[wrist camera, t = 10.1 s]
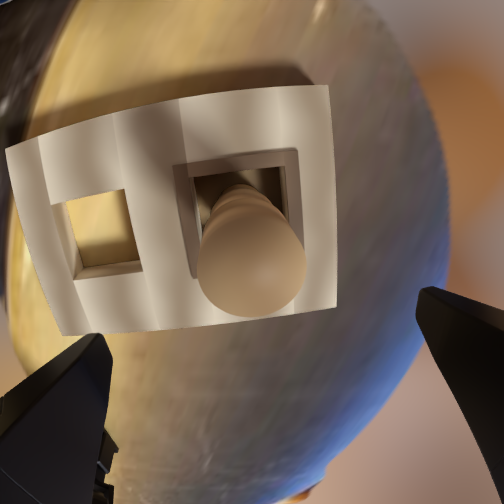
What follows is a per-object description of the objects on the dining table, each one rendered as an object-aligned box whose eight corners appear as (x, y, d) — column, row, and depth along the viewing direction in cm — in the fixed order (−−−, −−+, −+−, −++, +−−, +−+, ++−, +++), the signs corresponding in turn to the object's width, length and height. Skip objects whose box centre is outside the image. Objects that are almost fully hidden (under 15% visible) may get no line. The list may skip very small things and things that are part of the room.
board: (71, 321, 22) (61, 337, 20) (21, 145, 17) (3, 149, 15) (328, 292, 23) (337, 308, 21) (318, 88, 17) (328, 84, 15)
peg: (213, 242, 21) (207, 323, 12) (204, 180, 19) (187, 226, 11) (275, 233, 21) (308, 309, 12) (269, 172, 19) (304, 211, 11)
